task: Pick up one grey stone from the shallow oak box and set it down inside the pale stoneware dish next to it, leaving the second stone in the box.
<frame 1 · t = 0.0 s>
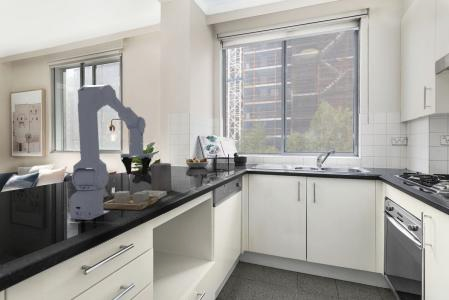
hand: (136, 174, 106), 10 cm above the countertop, tool pointing down, fingers open, 7 cm apart
stone b: (122, 203, 92), resting on oak box
stoneware dish: (150, 198, 104), on the countertop
oak box: (131, 205, 92), on the countertop
stone a: (141, 204, 91), resting on oak box
flask: (99, 198, 105), on the countertop
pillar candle: (161, 191, 119), on the countertop
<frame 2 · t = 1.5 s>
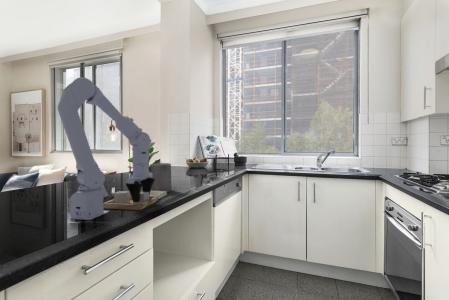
hand: (141, 199, 91), 2 cm above the countertop, tool pointing down, fingers open, 7 cm apart
nothing on the countertop moved.
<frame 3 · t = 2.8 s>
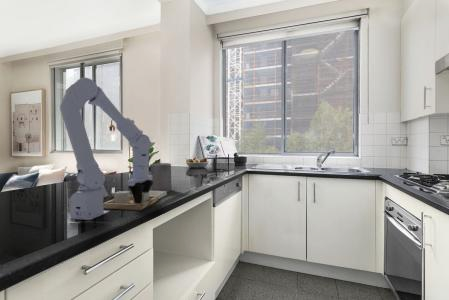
hand: (141, 201, 91), 2 cm above the countertop, tool pointing down, fingers closed on stone a, 4 cm apart
stone a: (141, 204, 91), resting on oak box, touching gripper
everything else where it was.
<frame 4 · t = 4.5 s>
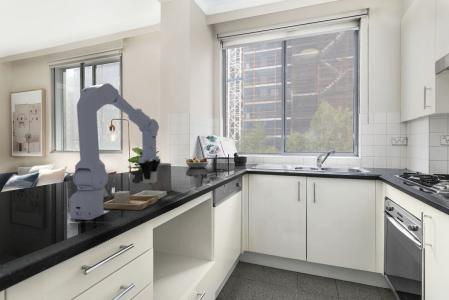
hand: (149, 178, 104), 9 cm above the countertop, tool pointing down, fingers closed on stone a, 4 cm apart
stone a: (150, 182, 104), point 7 cm above the countertop, touching gripper
everything else where it was.
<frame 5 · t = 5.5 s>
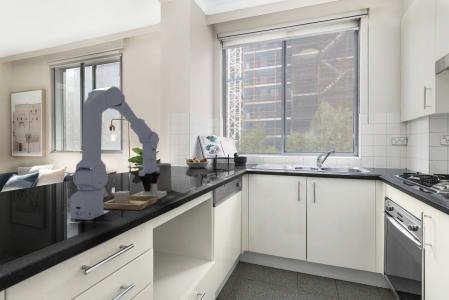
hand: (150, 190, 104), 3 cm above the countertop, tool pointing down, fingers closed on stone a, 4 cm apart
stone a: (150, 194, 104), point 2 cm above the countertop, touching gripper
everything else where it was.
when the fingers open (3 cm above the countertop, at t = 6.2 s): stone a drops 1 cm, resting on stoneware dish.
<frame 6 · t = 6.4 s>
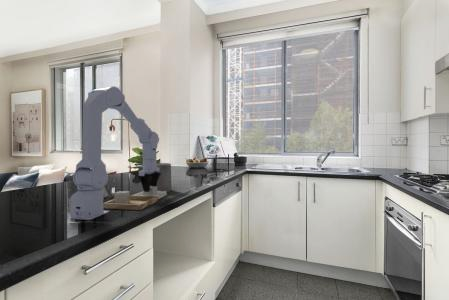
hand: (150, 190, 104), 3 cm above the countertop, tool pointing down, fingers open, 5 cm apart
stone a: (150, 197, 104), resting on stoneware dish
everything else where it was.
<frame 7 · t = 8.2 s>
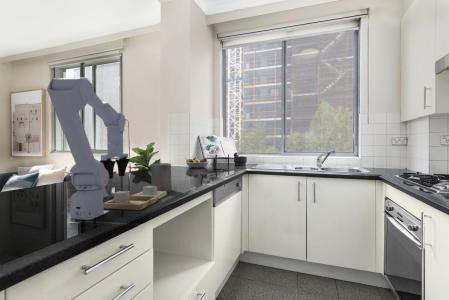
hand: (115, 177, 95), 10 cm above the countertop, tool pointing down, fingers open, 7 cm apart
nothing on the countertop moved.
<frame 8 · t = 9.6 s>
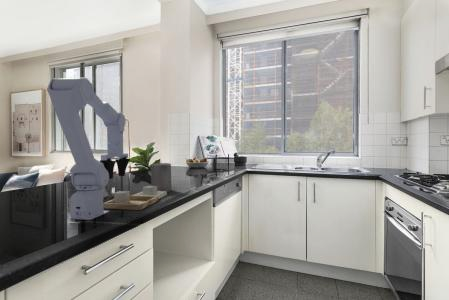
hand: (115, 177, 95), 10 cm above the countertop, tool pointing down, fingers open, 7 cm apart
nothing on the countertop moved.
at the end: stone a inside the target area on the stoneware dish (0.1 cm from its centre), point 0.5 cm above the stoneware dish's base; the gripper is holding nothing; stone b moved 0.1 cm from its start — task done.
